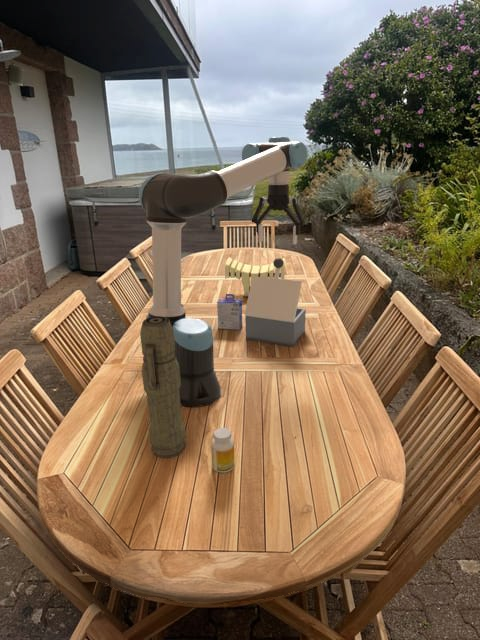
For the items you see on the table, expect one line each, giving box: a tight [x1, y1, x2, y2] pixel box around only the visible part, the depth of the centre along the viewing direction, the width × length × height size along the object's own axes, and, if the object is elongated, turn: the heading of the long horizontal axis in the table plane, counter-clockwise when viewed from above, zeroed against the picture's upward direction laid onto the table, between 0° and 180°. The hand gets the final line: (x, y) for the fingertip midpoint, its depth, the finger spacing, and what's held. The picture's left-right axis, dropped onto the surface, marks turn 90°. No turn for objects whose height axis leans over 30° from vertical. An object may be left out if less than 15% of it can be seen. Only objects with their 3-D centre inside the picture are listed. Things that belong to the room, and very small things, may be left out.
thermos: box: [139, 316, 186, 459], centre depth 101 cm, size 9×12×35 cm
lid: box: [244, 257, 303, 323], centre depth 161 cm, size 24×20×4 cm
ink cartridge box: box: [216, 293, 243, 331], centre depth 178 cm, size 10×6×14 cm, turn 78°
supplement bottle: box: [210, 427, 235, 474], centre depth 99 cm, size 5×5×10 cm
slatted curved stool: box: [224, 256, 286, 297], centre depth 220 cm, size 30×16×18 cm, turn 84°
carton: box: [244, 307, 307, 348], centre depth 170 cm, size 16×20×10 cm
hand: (277, 242), depth 159 cm, fingers open, 13 cm apart
